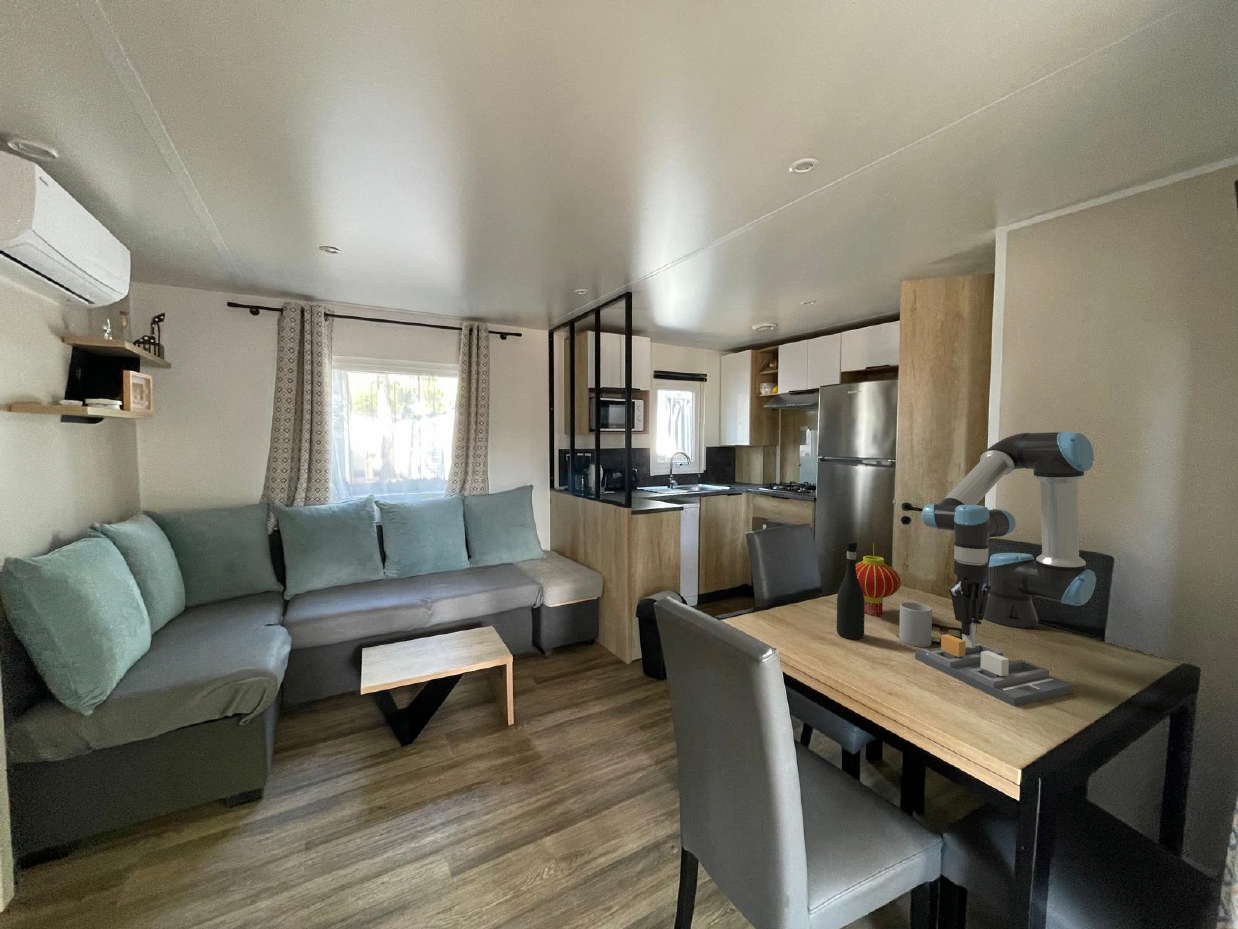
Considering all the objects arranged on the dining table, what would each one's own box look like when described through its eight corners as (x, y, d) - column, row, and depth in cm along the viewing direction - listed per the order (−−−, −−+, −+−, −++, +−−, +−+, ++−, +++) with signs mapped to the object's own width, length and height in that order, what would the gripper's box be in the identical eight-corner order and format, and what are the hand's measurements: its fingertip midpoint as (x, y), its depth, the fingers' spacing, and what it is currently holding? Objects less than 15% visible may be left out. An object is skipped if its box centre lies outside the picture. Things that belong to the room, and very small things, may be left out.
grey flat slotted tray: (966, 649, 142) (967, 637, 142) (1072, 693, 117) (1072, 679, 117) (914, 658, 136) (915, 646, 136) (1014, 706, 111) (1014, 691, 111)
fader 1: (948, 654, 133) (948, 634, 133) (965, 662, 129) (966, 641, 128) (940, 656, 133) (940, 635, 132) (957, 663, 128) (958, 642, 127)
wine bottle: (842, 628, 158) (843, 538, 157) (867, 635, 152) (869, 542, 151) (832, 635, 152) (833, 542, 151) (858, 642, 147) (860, 546, 146)
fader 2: (988, 672, 123) (988, 650, 123) (1008, 681, 118) (1009, 658, 118) (979, 674, 122) (980, 652, 122) (1000, 683, 117) (1000, 660, 117)
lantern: (836, 605, 180) (837, 527, 179) (879, 604, 182) (880, 526, 181) (864, 622, 163) (866, 535, 162) (911, 620, 165) (913, 534, 164)
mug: (928, 649, 142) (929, 613, 141) (895, 641, 147) (896, 606, 147) (936, 637, 150) (936, 603, 150) (905, 630, 156) (905, 597, 156)
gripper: (974, 556, 137) (972, 637, 138) (939, 560, 133) (938, 643, 134) (1002, 562, 129) (1000, 648, 131) (966, 567, 126) (964, 655, 127)
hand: (968, 645), depth 132 cm, fingers closed
